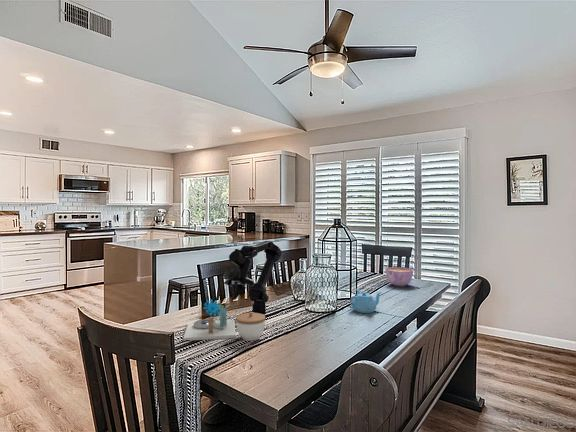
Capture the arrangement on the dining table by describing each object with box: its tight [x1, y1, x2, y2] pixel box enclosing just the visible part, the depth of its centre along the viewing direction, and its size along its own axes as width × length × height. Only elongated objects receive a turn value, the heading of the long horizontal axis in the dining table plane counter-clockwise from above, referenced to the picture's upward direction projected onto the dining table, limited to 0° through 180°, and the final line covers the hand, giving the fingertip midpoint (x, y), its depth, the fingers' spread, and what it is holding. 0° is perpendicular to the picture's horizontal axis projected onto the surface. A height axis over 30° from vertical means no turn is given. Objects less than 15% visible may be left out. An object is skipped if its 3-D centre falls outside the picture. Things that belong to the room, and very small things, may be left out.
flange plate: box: [194, 307, 228, 329], centre depth 167 cm, size 16×10×9 cm, turn 65°
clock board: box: [182, 317, 236, 342], centre depth 165 cm, size 22×22×7 cm
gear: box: [203, 299, 225, 317], centre depth 191 cm, size 11×6×10 cm
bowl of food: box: [384, 266, 414, 287], centre depth 262 cm, size 20×20×12 cm
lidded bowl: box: [235, 311, 266, 342], centre depth 156 cm, size 13×13×11 cm
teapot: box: [349, 288, 382, 314], centre depth 198 cm, size 15×15×10 cm
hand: (233, 299), depth 174 cm, fingers closed
